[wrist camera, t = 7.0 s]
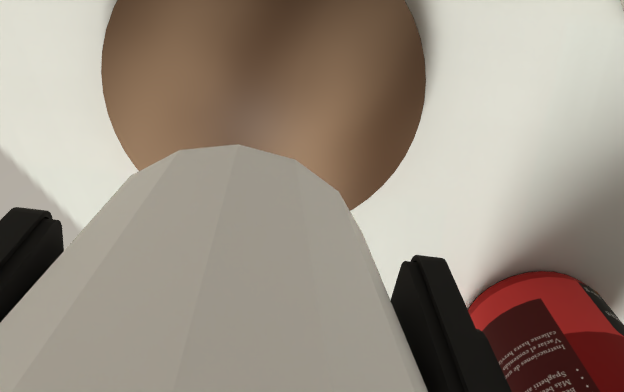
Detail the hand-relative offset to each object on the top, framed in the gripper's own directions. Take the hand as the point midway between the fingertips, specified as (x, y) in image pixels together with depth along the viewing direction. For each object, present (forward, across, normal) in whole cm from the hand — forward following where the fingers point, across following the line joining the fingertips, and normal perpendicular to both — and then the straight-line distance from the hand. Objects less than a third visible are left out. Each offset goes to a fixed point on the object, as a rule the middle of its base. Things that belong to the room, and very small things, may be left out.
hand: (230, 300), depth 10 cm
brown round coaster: (+14, 0, 0) cm, 14 cm away
